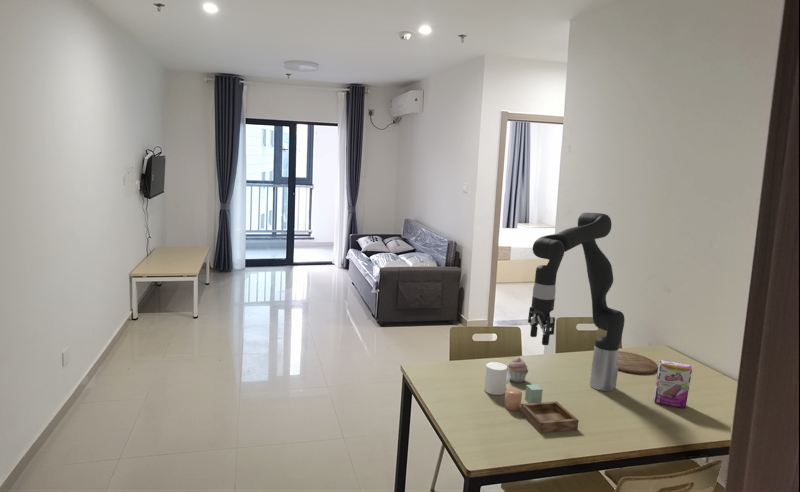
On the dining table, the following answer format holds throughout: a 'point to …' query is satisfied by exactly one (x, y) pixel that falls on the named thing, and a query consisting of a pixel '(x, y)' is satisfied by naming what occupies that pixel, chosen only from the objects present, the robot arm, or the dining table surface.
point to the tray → (549, 417)
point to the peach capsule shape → (513, 399)
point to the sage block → (533, 394)
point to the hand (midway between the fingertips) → (539, 340)
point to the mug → (496, 378)
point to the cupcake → (517, 370)
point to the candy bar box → (672, 384)
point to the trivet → (635, 363)
